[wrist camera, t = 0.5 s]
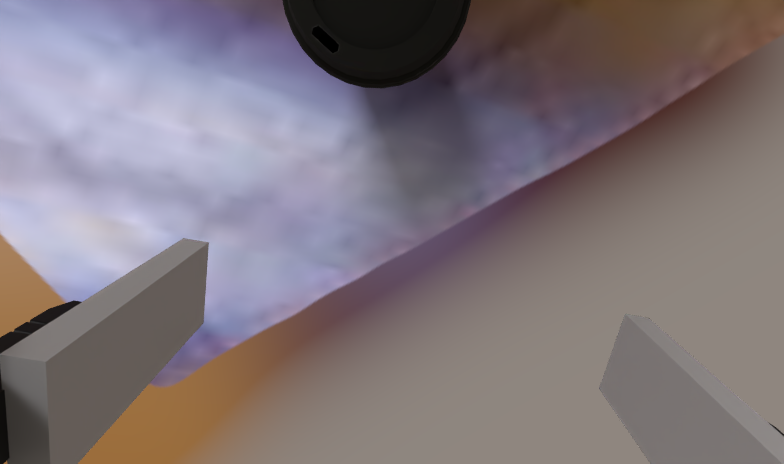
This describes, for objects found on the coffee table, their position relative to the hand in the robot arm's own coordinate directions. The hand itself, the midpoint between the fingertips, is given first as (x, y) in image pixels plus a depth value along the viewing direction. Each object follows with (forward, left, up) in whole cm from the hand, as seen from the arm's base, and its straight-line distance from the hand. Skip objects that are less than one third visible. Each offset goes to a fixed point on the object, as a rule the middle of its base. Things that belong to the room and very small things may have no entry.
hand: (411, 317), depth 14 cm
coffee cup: (-12, -1, -26) cm, 29 cm away
